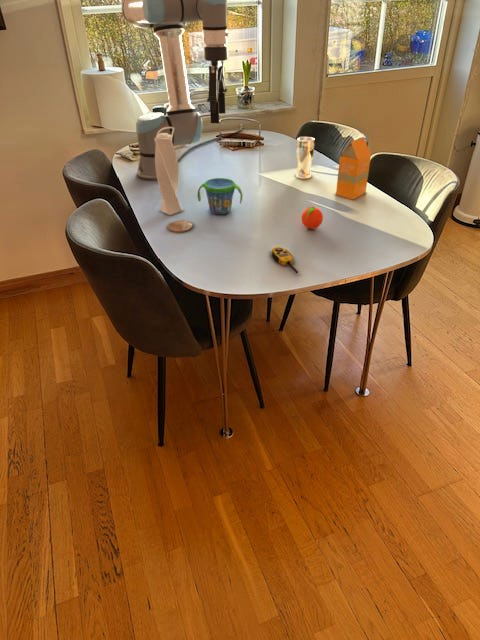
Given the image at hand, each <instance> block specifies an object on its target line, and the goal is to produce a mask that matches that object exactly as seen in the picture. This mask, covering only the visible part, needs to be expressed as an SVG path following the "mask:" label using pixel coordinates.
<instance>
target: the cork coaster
mask: <svg viewBox="0 0 480 640" xmlns="http://www.w3.org/2000/svg"><path fill="white" fill-rule="evenodd" d="M167 228H168V230H169V231H170V232H173V233H185V232H188V231H190V230H192V229H193V224H192V222H190V221H187V220H177V221H173V222H170V223H169V224H168V225H167Z"/></svg>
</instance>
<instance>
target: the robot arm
mask: <svg viewBox="0 0 480 640" xmlns="http://www.w3.org/2000/svg"><path fill="white" fill-rule="evenodd" d="M227 2H228V0H122V3H121V13H122V17H123V19H124V20H125V22H126V23H127V24H129V25H131V26H132V27H134V28H138V29H153V35H154V36H155V37H157V39H158V40H159V42H158V43H159V46H160V48H159V49H160V52H161V61H162V66H163V73H164V78H165V85H166V91H167V97H168V103H169V104H168V105H169V106H168V108H167V110H166V115H165V113H162V112H150V113H146V114H143V115H141V116H139V117H138V118H137V119H136V121H135V132H136V136H137V146H138V151H139V160H138V166H137V171H136V172H137V176H138V177H139V178H140V179H142V180H143V179H144V180H149V181H150V180H151V181H152V180H153V181H158V180H157V175H156V168H155V147H156V143H155V140H154V138H155V137H156V136H157V133H158V131H159V130H160V129H161V128H164V127H173V128H174V132H173V137H172V144H173V147H178V146H186V145H192V144H195V145H193V146H191V147H189V148H188V149H186V150H185V151H184V152H183V153H182V154H181V155H180V156H179V157H177V161H178V162H179V161H181V159H182V158H183V157H184V156H185V155H186V154H187V153H188V152H189V151H191V150H193V149H195V148H197V147H200V146H202V145H204V144H205V145H206V144H208V143H210V142H211V143H212V142H213V141H217V140H220V139H223V138H226V137H228V136H225V137H221V136H218V137H219V138H218V137H215V138H212V139H209V140H205V141H203V142H200V143H199V141H201V138H202V136H203V119H202V115H201V114H200V113H199V112H197V111H196V107H195V106H194V105H193V104H192V103H191V98H190V90H189V83H188V74H187V68H186V61H185V55H184V47H183V41H182V35H183V34H184V32H185V28H184V27H186V26H187V25H188V23H195V22H202V44H203V45H204V47H203V59H204V61H207V62H211V63H210V65H209V66H208V97H207V99H206V101H207V102H208V103H209V115H210V124H220V114H222V115H224V114H226V93H227V92H228V88H227V87H226V77H225V69H224V68H225V67H224V63H225V61H227V60H228V59H229V48H228V46H227V44H228V37H230V33H229V32H228V3H227ZM239 126H240V128H239V129H238V130H235V131H234V132H237V133H239V132H241V131H243V125H242V123H240V124H239ZM172 130H173V129H172V128H167V129H163V130H161V131H160V133H168V135H171V134H172ZM160 133H159V134H160ZM159 134H158V135H159ZM196 143H197V144H196Z"/></svg>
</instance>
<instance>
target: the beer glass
mask: <svg viewBox="0 0 480 640" xmlns="http://www.w3.org/2000/svg"><path fill="white" fill-rule="evenodd" d="M295 153H296V163H297V170H296V174H295V177H296V178H298V179H299V180H301V179H302V180H307V179H310V178H312V173H311V168H312V163H313V159H314V154H315V138H314V137H312V136H299V137H298V138H297V142H296V152H295Z"/></svg>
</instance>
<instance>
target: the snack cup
mask: <svg viewBox="0 0 480 640" xmlns="http://www.w3.org/2000/svg"><path fill="white" fill-rule="evenodd" d="M202 188H204V190H205V193H206V198H207V203H208V209H209V212H211V213H212V214H213V215H226V214H228V213H230V212H231V210H232V205H233V198H234V193H235V189H236V190H237V191H238V193H239V194H240V198H239V200H240V201H239V204H242V202H243V191H242V188H241V187H240V186H239V185H238V184H236V182H235V181H234V180H232V179H229V178H225V177H216V178H210V179H208V180H206V181H205V182H203V183H202V184H201V185H199V188H198V190H197V200H198V202H199V203H200V202H201V201H202V197H201V189H202Z"/></svg>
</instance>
